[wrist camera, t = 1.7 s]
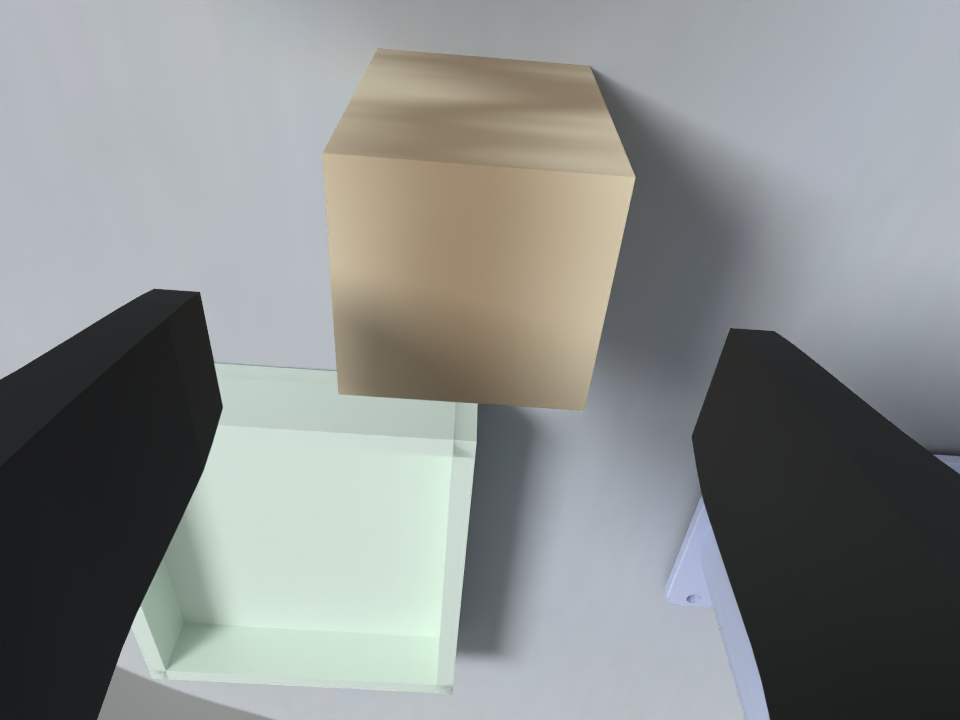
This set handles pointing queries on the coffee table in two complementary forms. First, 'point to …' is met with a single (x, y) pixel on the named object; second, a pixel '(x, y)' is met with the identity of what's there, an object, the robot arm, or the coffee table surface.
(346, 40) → the coffee table surface
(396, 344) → the maple block
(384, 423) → the serving tray
